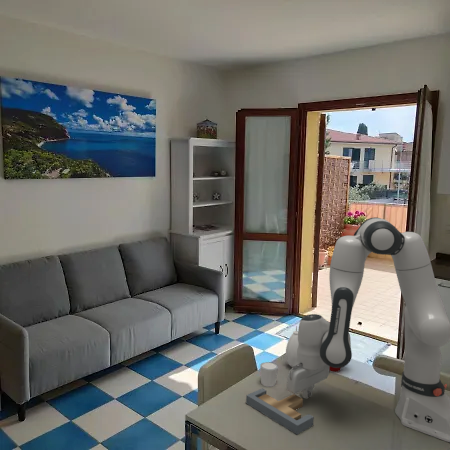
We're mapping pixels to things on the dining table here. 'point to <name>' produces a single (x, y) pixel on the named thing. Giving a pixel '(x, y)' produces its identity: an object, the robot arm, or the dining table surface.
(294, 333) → the sauce bottle
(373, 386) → the dining table surface
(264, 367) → the white cylinder
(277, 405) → the t block
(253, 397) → the dock
